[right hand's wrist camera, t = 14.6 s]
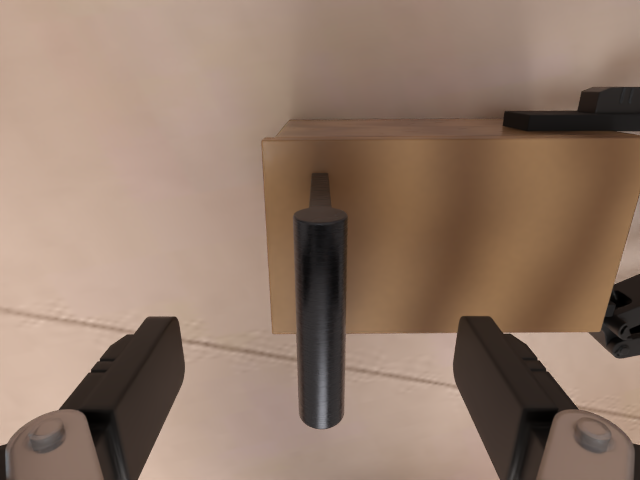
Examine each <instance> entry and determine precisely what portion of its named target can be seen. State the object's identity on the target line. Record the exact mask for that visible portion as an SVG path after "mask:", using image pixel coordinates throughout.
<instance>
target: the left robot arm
mask: <svg viewBox="0 0 640 480" xmlns="http://www.w3.org/2000/svg"><path fill="white" fill-rule="evenodd" d="M503 126H506V127H510V128H515V129H519V130H524V131H640V87H592V88H589V89H587V90H584V91H582V92H581V97H580V101H579V106H578V111H505V113H504V120H503ZM588 333H590V334H591V335H592V336H593V337H594V338H595V339H596V340H597V341H598V342H599V343H600V344H601V345H602V346H603V347H605V348H606V349H607V350H608V351H609V352H610V353H611V354H612V355H613V356H614V357H616V358H627V357H632V356H637V355H640V274H638V275H636V276H633V277H631V278H629V279H626V280H624V281H622V282H619V283H617V284H614V285H613V289H612V292H611V296H610V299H609V303H608V306H607V310H606V313H605V317H604V320H603V324H602V327H601V331H600V332H588Z"/></svg>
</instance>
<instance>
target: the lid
mask: <svg viewBox="0 0 640 480" xmlns="http://www.w3.org/2000/svg"><path fill="white" fill-rule="evenodd" d="M261 144H262V162H263V179H264V197H265V214H266V232H267V249H268V267H269V284H270V302H271V320H272V333H273V334H297V365H298V397H299V415H300V418H301V419H302V421H303V422H304V423H305V424H306V425H308V426H310V427H312V428H315V429H328V428H331V427H333V426H335V425H337V424H338V423H339V422H340V421H341V419H342V418H343V415H344V390H345V339H346V334H356V333H457V332H458V325H459V320H460V318H461V317H462V316H490V317H491V318H492V319H493V320H494V322H495V323H496V324H497V326H498V327H499V328H500V330H501V331H502V332H503V333H516V332H600V331H601V327H602V324H603V320H604V317H605V313H606V310H607V306H608V303H609V299H610V296H611V292H612V289H613V285H614V282H615V278H616V275H617V271H618V268H619V264H620V261H621V257H622V254H623V250H624V247H625V243H626V240H627V236H628V233H629V229H630V226H631V222H632V219H633V215H634V212H635V208H636V205H637V201H638V198H639V194H640V135H587V136H433V137H279V138H264V139H263V140H262V141H261Z"/></svg>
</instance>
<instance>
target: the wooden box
mask: <svg viewBox="0 0 640 480" xmlns="http://www.w3.org/2000/svg"><path fill="white" fill-rule="evenodd" d="M503 120H504V119H351V120H289V121H288V122H287V124H286V125H285V126H284V127H283V128H282V130H281V131H280V132H279V133H278V134H277V136H276V137H275V138H279V137H433V136H587V135H635V134H629V133H623V132H616V131H524V130H519V129H515V128H510V127H506V126H503Z"/></svg>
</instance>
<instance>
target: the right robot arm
mask: <svg viewBox="0 0 640 480" xmlns="http://www.w3.org/2000/svg"><path fill="white" fill-rule="evenodd" d="M184 372H185V361H184V354H183V347H182V340H181V333H180V326H179V321H178V319H177V318H176V317H147V318H146V319H145V320H144V322H143V323H142V324H141V326H140V327H139V328H138V330H137V331H136V332H135V334H134V335H126V336H124V337H123V338H121V339H120V340H118V341H117V342H115V343H114V344H112V345H111V346H110V347H109V348H108V350H107V351H106V352H105V353H104V355H103V356H102V357H101V358H100V361H98V362H97V363H96V364H95V366H94V367H93V368H92V369H91V373H88V374H87V375H86V377H85V378H84V379H83V380H82V382H81V383H80V384H79V385H78V387H77V388H76V389H75V390H74V392H73V393H72V394H71V395H70V396H69V398H68V399H67V400H66V401H65V403H64V404H63V405H62V406H61V408H60V409H59V410H57V411H53V412H49V413H46V414H44V415H41V416H39V417H37V418H35V419H33V420H31V421H30V422H28V423H27V424H25V425H24V426H23V427H21V428H20V429H19V430H18V431H17V432H16V433H15V434H14V435H13V436H12V437H11V439H10V440H9V442H8V443H7V444H5V445H2V446H0V480H138V478H139V476H140V474H141V472H142V469H143V467H144V465H145V463H146V461H147V459H148V456H149V454H150V452H151V450H152V448H153V446H154V444H155V441H156V439H157V437H158V435H159V433H160V431H161V429H162V426H163V424H164V422H165V420H166V418H167V416H168V413H169V411H170V409H171V407H172V405H173V403H174V401H175V398H176V396H177V394H178V392H179V390H180V388H181V385H182V382H183V379H184ZM453 372H454V378H455V382H456V385H457V387H458V389H459V391H460V394H461V396H462V398H463V400H464V402H465V404H466V407H467V409H468V411H469V413H470V415H471V417H472V420H473V422H474V424H475V426H476V428H477V431H478V433H479V435H480V437H481V439H482V441H483V444H484V446H485V448H486V450H487V452H488V454H489V457H490V459H491V461H492V463H493V465H494V468H495V470H496V472H497V474H498V476H499V478H500V480H640V445H637V444H633V443H632V442H631V440H630V439H629V437H628V436H627V435H626V434H625V433H624V432H623V431H622V430H621V429H620V428H619V427H617V426H616V425H615V424H613V423H612V422H610V421H609V420H607V419H605V418H603V417H601V416H599V415H596V414H594V413H591V412H587V411H583V410H579V409H578V408H577V407H576V405H575V404H574V403H573V402H572V400H571V399H570V398H569V397H568V396H567V394H566V393H565V392H564V391H563V389H562V388H561V387H560V386H559V384H558V383H557V382H556V381H555V379H554V378H553V377H552V376H551V374H550V373H549V372H546V368H545V367H544V366H543V364H542V363H541V362H540V361H538V360H537V357H536V356H535V354H534V353H533V352H532V351H531V349H530V348H529V347H528V346H527V345H526V344H525V343H523V342H522V341H520V340H519V339H517V338H516V337H514V336H513V335H511V334H503V332H502V331H501V330H500V328H499V327H498V326H497V324H496V323H495V322H494V320H493V319H492V318H491V317H490V316H462V317H461V318H460V320H459V325H458V332H457V339H456V346H455V353H454V360H453Z"/></svg>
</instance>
